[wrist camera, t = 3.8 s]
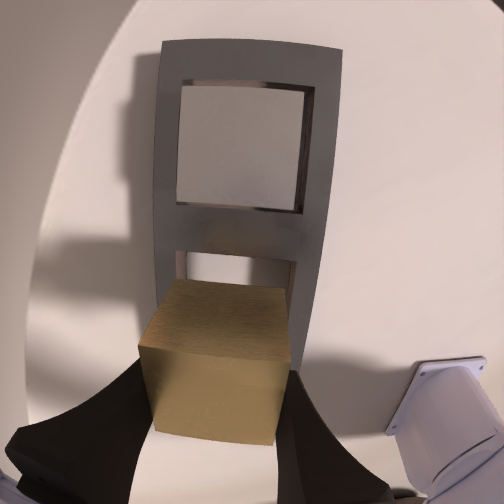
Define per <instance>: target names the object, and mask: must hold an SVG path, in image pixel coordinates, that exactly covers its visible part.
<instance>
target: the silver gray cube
mask: <svg viewBox="0 0 504 504" xmlns="http://www.w3.org/2000/svg"><path fill="white" fill-rule="evenodd" d="M303 103H304V92H299V91H290V90H280V89H268V88H253V87H233V86H182V94H181V107H180V123H179V141H178V164H177V201H180V202H197V203H212V204H226V205H239V206H252V207H264V208H275V209H286V210H293V209H294V200H295V191H296V181H297V171H298V160H299V150H300V139H301V127H302V115H303Z"/></svg>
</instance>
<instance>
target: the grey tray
mask: <svg viewBox="0 0 504 504" xmlns="http://www.w3.org/2000/svg"><path fill="white" fill-rule="evenodd" d="M342 52H343V50H341V49H335V48H329V47H323V46H316V45H309V44H301V43H292V42H282V41H270V40H254V39H185V40H169V41H162V49H161V58H160V68H159V78H158V89H157V102H156V117H155V137H154V168H153V224H154V256H155V276H156V291H157V305H158V308H159V306H160V304H161V302H162V301H163V299H164V297H165V295H166V294H167V292H168V290H169V289H170V287H171V285H172V283H173V282H174V280H175V278H178V279H187V269H186V251H188V252H199V253H210V254H222V255H233V256H245V257H256V258H268V259H279V260H291V261H292V264H291V271H290V279H289V286H288V294H287V301H286V307H287V319H288V332H289V345H290V358H291V364H290V369H289V370H296V371H297V372H298V373H299V370H300V366H301V361H302V357H303V352H304V347H305V342H306V338H307V333H308V328H309V323H310V317H311V312H312V307H313V301H314V296H315V290H316V285H317V279H318V273H319V267H320V261H321V255H322V248H323V242H324V235H325V228H326V221H327V214H328V207H329V199H330V191H331V183H332V175H333V166H334V157H335V147H336V137H337V126H338V115H339V102H340V88H341V72H342ZM182 86H233V87H253V88H268V89H280V90H290V91H299V92H304V93H309V100H308V113H307V125H306V136H305V147H304V158H303V168H302V178H301V187H300V197H299V205H294V209H293V210H286V209H275V208H264V207H252V206H239V205H226V204H212V203H197V202H180V201H177V164H178V141H179V123H180V107H181V94H182Z"/></svg>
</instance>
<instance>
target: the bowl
mask: <svg viewBox="0 0 504 504" xmlns="http://www.w3.org/2000/svg"><path fill="white" fill-rule="evenodd" d="M426 499H427V498H423V497H406V498H399V499H394V500H395V504H423V502H424V501H425V500H426Z"/></svg>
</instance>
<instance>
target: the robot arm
mask: <svg viewBox="0 0 504 504" xmlns="http://www.w3.org/2000/svg"><path fill="white" fill-rule="evenodd" d="M486 364H487V359H486V358H485V357H481V358H472V359H462V360H451V361H439V362H425V363H422V364H421V365H420V366H419V368H418V370H417V372H416V374H415V376H414V378H413V381H412V383H411V385H410V387H409V389H408V391H407V393H406V395H405V397H404V399H403V400H402V402H401V404H400V406H399V408H398V410H397V412H396V414H395V415H394V417H393V419H392V421H391V423H390V424H389V426H388V428H387V429H386V431H385V433H386V435H387V436H391V435H395V438H396V442H397V445H398V448H399V451H400V454H401V458H402V461H403V464H404V467H405V471H406V474H407V477H408V480H409V482H410V483H411V484H412V486H413V487H414V488H415V489H417V490H418V491H420V492H421V493H424V494H427V496H428V498H427V499H426V500H425V501H424V502H423V504H504V422H503V420H502V418H501V417H500V415H499V413H498V412H497V410H496V408H495V407H494V405H493V404H492V402H491V400H490V399H489V397H488V396H487V394H486V392H485V391H484V389H483V388H482V386H481V385H480V383H479V382H478V378H479V377H480V375H481V373H482V371H483V369H484V367H485V366H486ZM422 372H423V373H422ZM152 421H153V417H152V413H151V409H150V405H149V400H148V396H147V391H146V386H145V382H144V377H143V372H142V366H141V361H140V358H139V359H138V360H137V361H135V362H134V363H133V364H132V365H131V366H130V367H129V368H128V369H127V370H126V371H124V372H123V373H122V374H121V375H120V376H119V377H118V378H116V379H115V380H114V381H113V382H112V383H110V384H109V385H108V386H106V387H105V388H104V389H103V390H101V391H100V392H99V393H97V394H96V395H94V396H93V397H91V398H90V399H88V400H87V401H85V402H84V403H82V404H80V405H79V406H77V407H75V408H73V409H71V410H69V411H67V412H65V413H63V414H60V415H58V416H56V417H53V418H51V419H48V420H45V421H42V422H39V423H36V424H32V425H28V426H24V427H20V428H18V429H17V431H16V432H15V434H14V435H13V437H12V438H11V440H10V441H9V443H8V444H7V446H6V447H5V453H6V455H7V457H8V458H9V459H10V461H11V462H12V463H13V464H14V465H15V467H16V468H17V469H18V470H19V471H20V472H21V473H22V477H21V478H20V480H19V482H17V481H15V480H14V479H12V478H10V477H9V476H7V475H5V474H4V473H3V472H2V470H1V469H0V504H128V502H129V496H130V491H131V486H132V482H133V477H134V473H135V469H136V465H137V461H138V457H139V454H140V451H141V448H142V446H143V443H144V441H145V438H146V436H147V434H148V431H149V429H150V426H151V424H152ZM275 435H276V447H277V459H278V498H277V504H395V500H394V496H393V494H392V491H391V489H390V487H389V484H387V483H386V482H384V481H383V480H381V479H380V478H378V477H377V476H375V475H374V474H373V473H371V472H370V471H369V470H368V469H366V468H365V467H364V466H363V465H362V464H360V463H359V462H358V461H357V460H356V459H355V458H354V457H353V456H352V455H351V454H350V453H349V452H348V451H347V450H346V449H345V448H344V447H343V446H342V445H341V443H340V442H339V441H338V440H337V439H336V438H335V436H334V435H333V434H332V433H331V431H330V430H329V428H328V427H327V426H326V424H325V423H324V421H323V420H322V418H321V417H320V415H319V414H318V412H317V410H316V409H315V407H314V405H313V403H312V401H311V400H310V398H309V396H308V394H307V392H306V390H305V388H304V385H303V383H302V381H301V378H300V376H299V373H298V372H297V371H296V370H289V374H288V379H287V384H286V389H285V393H284V398H283V403H282V407H281V412H280V416H279V420H278V425H277V429H276V433H275Z"/></svg>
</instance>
